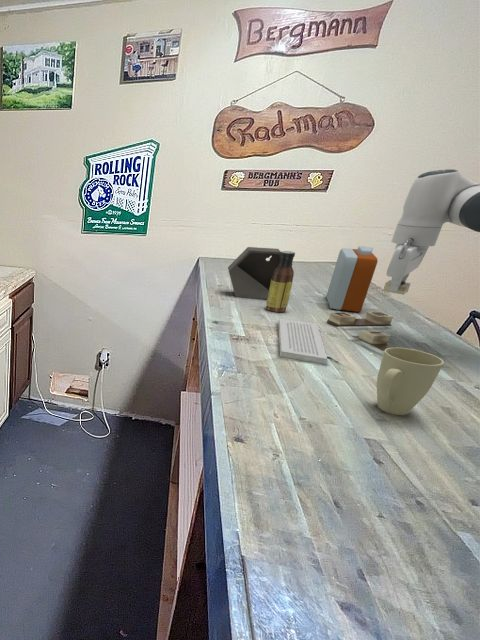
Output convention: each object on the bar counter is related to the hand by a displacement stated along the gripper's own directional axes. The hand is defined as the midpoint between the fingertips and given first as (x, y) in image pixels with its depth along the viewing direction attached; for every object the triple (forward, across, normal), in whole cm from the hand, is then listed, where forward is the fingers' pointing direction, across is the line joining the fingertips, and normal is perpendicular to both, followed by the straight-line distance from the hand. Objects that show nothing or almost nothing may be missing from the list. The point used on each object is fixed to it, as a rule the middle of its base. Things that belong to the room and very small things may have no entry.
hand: (396, 288), depth 124 cm
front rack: (+15, -7, -3) cm, 17 cm away
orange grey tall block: (+15, +34, +17) cm, 41 cm away
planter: (+15, +21, +44) cm, 51 cm away
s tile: (+1, 0, 0) cm, 1 cm away
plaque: (+15, -18, +14) cm, 28 cm away
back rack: (+15, +12, +8) cm, 21 cm away
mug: (+15, -47, -12) cm, 51 cm away
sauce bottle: (+15, +9, +30) cm, 35 cm away
